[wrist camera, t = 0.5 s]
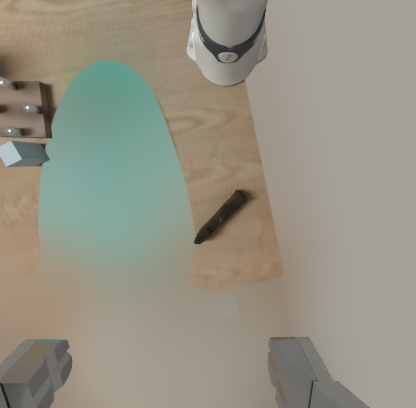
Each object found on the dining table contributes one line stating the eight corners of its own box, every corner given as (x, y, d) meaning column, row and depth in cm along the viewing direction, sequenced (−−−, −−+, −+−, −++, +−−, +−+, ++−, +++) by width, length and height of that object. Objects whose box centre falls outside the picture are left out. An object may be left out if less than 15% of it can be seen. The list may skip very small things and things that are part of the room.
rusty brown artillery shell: (236, 187, 55) (238, 190, 50) (246, 198, 55) (249, 201, 50) (188, 233, 58) (185, 239, 53) (198, 242, 58) (196, 249, 54)
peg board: (-4, 83, 51) (-27, 75, 46) (45, 84, 51) (27, 76, 46) (5, 136, 54) (-16, 134, 49) (52, 138, 54) (35, 135, 49)
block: (27, 150, 55) (-5, 148, 47) (40, 143, 54) (11, 140, 46) (36, 166, 55) (6, 166, 47) (49, 159, 55) (21, 159, 47)
